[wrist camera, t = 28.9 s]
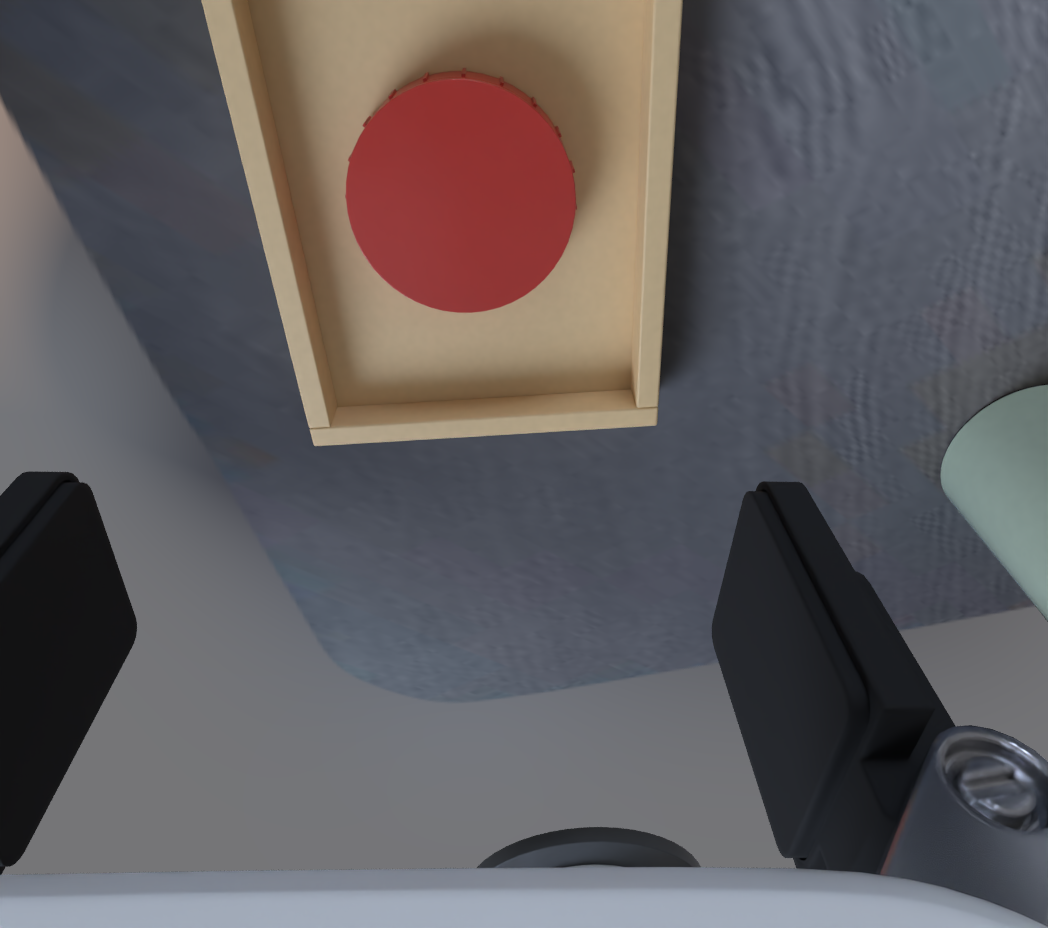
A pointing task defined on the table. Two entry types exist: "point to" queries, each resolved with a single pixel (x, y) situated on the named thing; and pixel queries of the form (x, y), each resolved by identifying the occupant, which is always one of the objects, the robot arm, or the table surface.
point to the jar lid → (461, 192)
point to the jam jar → (1006, 485)
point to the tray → (420, 331)
